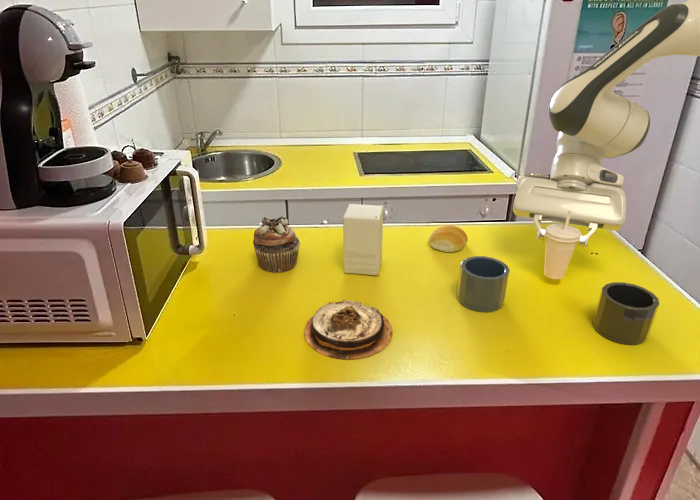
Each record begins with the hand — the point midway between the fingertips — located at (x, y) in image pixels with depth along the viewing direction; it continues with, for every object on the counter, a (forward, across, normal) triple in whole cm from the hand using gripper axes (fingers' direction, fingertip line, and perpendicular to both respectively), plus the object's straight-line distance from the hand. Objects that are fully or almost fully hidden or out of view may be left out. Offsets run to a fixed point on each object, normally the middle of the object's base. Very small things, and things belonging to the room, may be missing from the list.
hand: (561, 242), depth 99 cm
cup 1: (+15, -12, -2) cm, 19 cm away
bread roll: (0, -23, +13) cm, 26 cm away
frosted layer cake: (+28, -31, -15) cm, 45 cm away
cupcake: (+17, -54, -4) cm, 57 cm away
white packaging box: (+12, -37, 0) cm, 39 cm away
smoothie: (+5, 0, +6) cm, 8 cm away
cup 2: (+15, +12, -2) cm, 19 cm away
